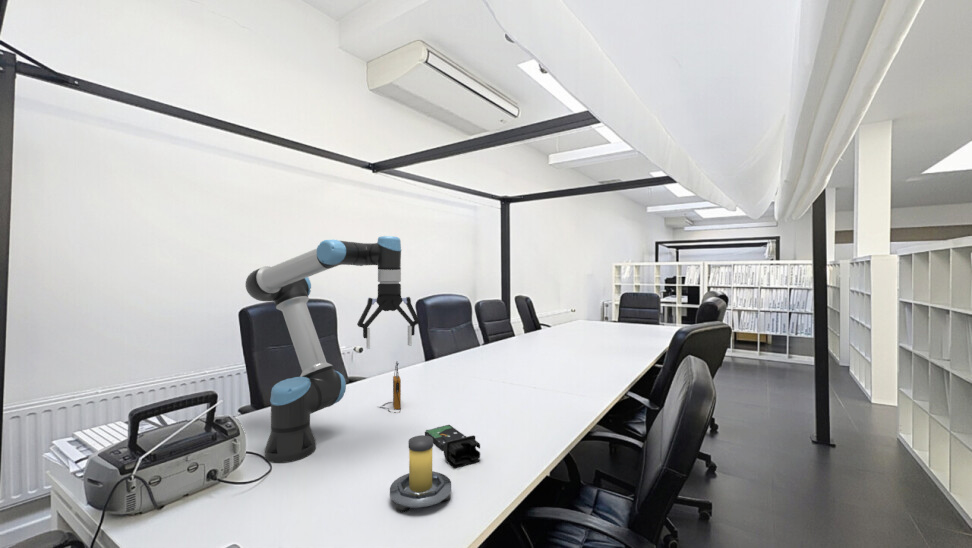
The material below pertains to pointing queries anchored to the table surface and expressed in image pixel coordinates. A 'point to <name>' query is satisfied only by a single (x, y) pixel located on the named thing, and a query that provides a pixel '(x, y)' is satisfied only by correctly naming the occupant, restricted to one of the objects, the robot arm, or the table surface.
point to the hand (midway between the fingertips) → (389, 346)
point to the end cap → (461, 452)
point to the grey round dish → (420, 493)
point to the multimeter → (396, 392)
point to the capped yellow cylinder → (420, 463)
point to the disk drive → (443, 435)
